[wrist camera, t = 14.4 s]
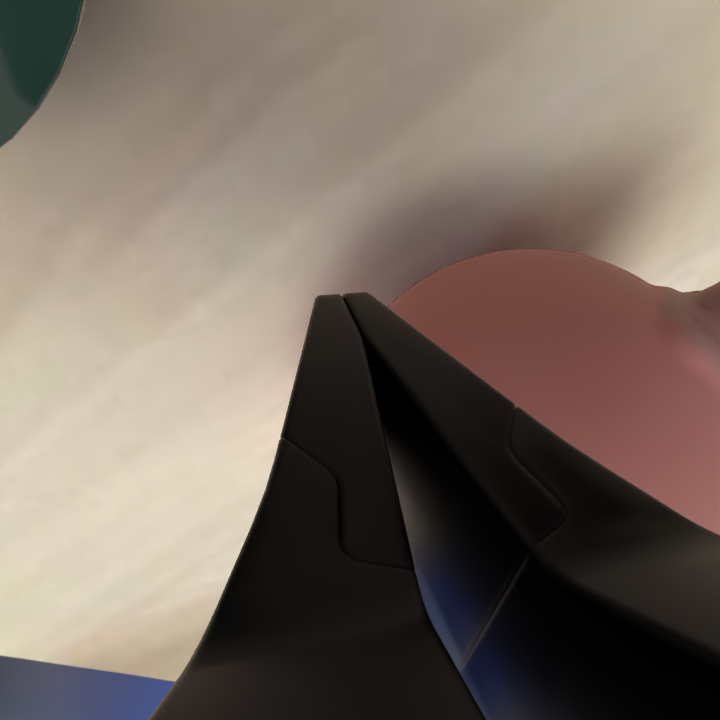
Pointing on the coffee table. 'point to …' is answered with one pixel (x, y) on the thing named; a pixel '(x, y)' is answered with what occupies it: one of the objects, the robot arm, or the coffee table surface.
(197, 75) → the coffee table surface
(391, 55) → the coffee table surface
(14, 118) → the lid
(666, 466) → the balloon
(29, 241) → the coffee table surface
